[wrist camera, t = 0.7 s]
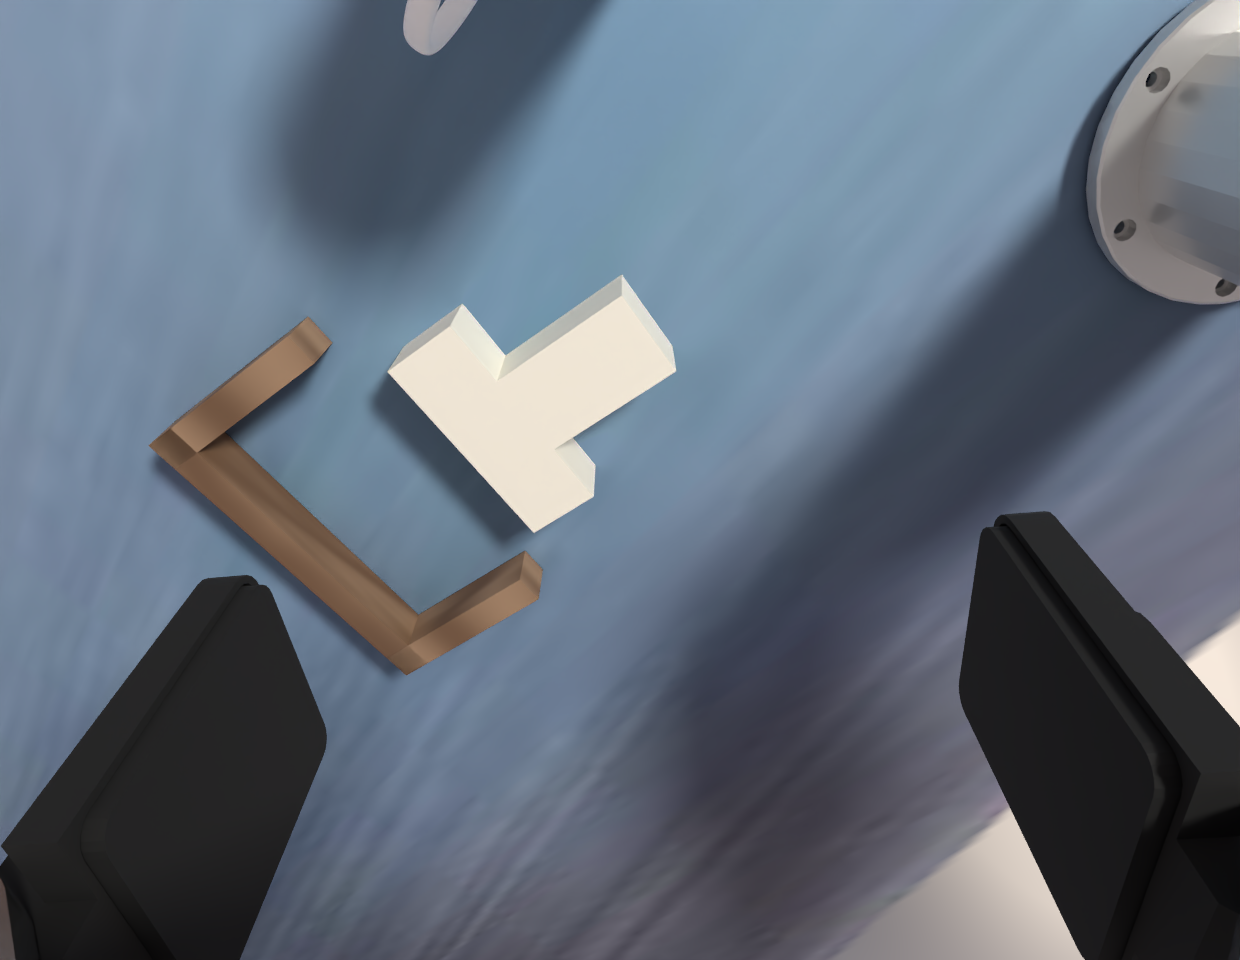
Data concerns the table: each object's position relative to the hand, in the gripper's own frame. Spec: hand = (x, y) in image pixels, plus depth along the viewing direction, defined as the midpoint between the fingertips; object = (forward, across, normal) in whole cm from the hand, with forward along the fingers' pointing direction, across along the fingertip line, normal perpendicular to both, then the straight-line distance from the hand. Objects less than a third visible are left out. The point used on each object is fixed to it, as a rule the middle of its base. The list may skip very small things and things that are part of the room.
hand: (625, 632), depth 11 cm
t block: (+26, +4, +7) cm, 28 cm away
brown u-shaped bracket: (+26, +14, +12) cm, 32 cm away
